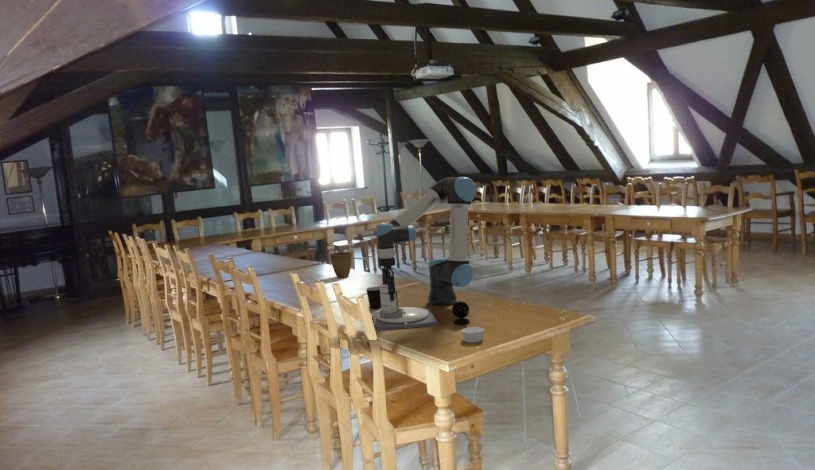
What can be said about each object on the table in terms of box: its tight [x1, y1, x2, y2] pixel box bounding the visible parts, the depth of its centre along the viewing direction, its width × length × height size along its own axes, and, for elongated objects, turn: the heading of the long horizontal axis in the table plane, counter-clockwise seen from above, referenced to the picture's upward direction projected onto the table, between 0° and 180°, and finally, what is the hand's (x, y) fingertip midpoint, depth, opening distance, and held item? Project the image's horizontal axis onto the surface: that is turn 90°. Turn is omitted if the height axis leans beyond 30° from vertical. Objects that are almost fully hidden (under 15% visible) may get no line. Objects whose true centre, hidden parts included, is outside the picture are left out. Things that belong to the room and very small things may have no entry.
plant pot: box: [329, 251, 353, 279], centre depth 416 cm, size 15×15×16 cm
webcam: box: [451, 301, 471, 326], centre depth 284 cm, size 8×8×10 cm
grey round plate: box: [378, 306, 429, 323], centre depth 296 cm, size 24×24×4 cm
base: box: [372, 307, 438, 331], centre depth 296 cm, size 28×28×2 cm
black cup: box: [366, 286, 381, 310], centre depth 326 cm, size 12×9×10 cm
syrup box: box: [379, 283, 399, 313], centre depth 292 cm, size 6×6×14 cm
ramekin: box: [461, 326, 485, 344], centre depth 258 cm, size 9×9×4 cm
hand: (390, 305), depth 293 cm, fingers open, 7 cm apart
